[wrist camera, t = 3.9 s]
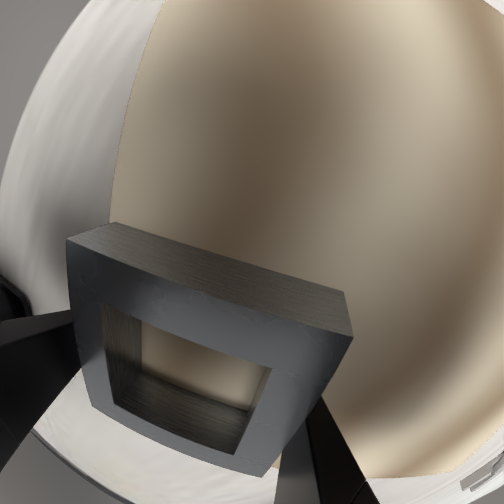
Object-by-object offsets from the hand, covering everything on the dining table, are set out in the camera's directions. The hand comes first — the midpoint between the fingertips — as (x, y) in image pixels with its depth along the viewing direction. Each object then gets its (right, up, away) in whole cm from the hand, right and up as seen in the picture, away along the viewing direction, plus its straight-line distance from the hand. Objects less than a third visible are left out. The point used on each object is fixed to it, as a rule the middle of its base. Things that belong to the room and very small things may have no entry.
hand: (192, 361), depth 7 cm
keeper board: (+7, +3, 0) cm, 7 cm away
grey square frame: (0, 0, 0) cm, 0 cm away
